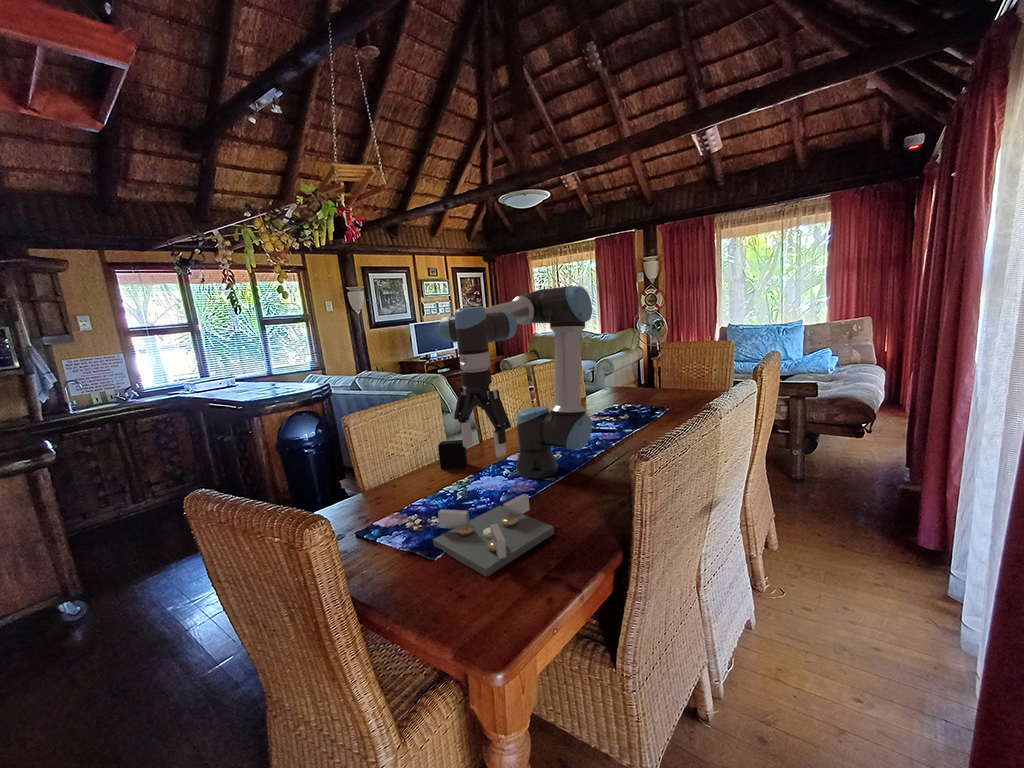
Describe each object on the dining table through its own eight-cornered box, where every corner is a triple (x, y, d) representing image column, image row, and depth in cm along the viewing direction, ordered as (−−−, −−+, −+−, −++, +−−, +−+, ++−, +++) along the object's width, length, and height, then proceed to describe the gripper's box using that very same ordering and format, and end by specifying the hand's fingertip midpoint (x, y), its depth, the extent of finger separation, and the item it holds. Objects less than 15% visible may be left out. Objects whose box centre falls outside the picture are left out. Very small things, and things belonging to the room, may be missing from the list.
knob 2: (486, 544, 111) (484, 523, 110) (503, 540, 112) (501, 520, 111) (494, 564, 102) (491, 542, 101) (512, 560, 103) (510, 538, 102)
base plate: (500, 511, 133) (499, 501, 132) (554, 533, 118) (553, 522, 117) (433, 546, 117) (432, 535, 116) (486, 577, 102) (485, 564, 101)
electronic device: (466, 467, 171) (463, 442, 169) (440, 469, 172) (437, 444, 170) (467, 463, 175) (465, 439, 174) (442, 465, 176) (439, 441, 174)
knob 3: (509, 528, 118) (508, 509, 117) (498, 523, 121) (496, 504, 120) (533, 515, 124) (531, 496, 123) (522, 510, 127) (520, 492, 126)
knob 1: (476, 528, 120) (474, 508, 119) (470, 536, 116) (468, 516, 115) (444, 526, 122) (442, 507, 121) (438, 534, 118) (435, 514, 117)
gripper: (435, 369, 118) (444, 445, 122) (496, 375, 100) (505, 465, 104) (458, 364, 123) (466, 438, 127) (520, 369, 105) (527, 455, 109)
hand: (483, 450), depth 115 cm, fingers open, 13 cm apart
